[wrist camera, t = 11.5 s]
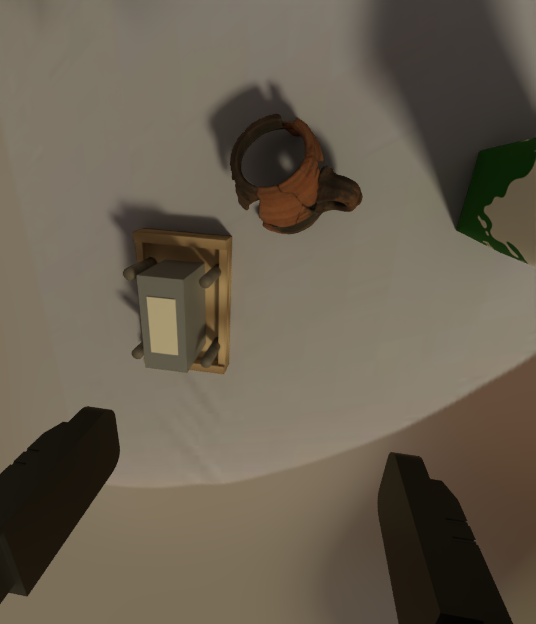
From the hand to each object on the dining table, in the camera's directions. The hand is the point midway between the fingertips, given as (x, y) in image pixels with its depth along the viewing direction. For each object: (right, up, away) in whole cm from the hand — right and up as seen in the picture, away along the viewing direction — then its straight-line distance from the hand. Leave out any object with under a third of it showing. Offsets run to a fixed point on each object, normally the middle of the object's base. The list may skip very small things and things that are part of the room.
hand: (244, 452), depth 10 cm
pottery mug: (+4, +17, +24) cm, 29 cm away
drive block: (-9, +5, +29) cm, 30 cm away
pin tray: (-9, +5, +30) cm, 31 cm away
